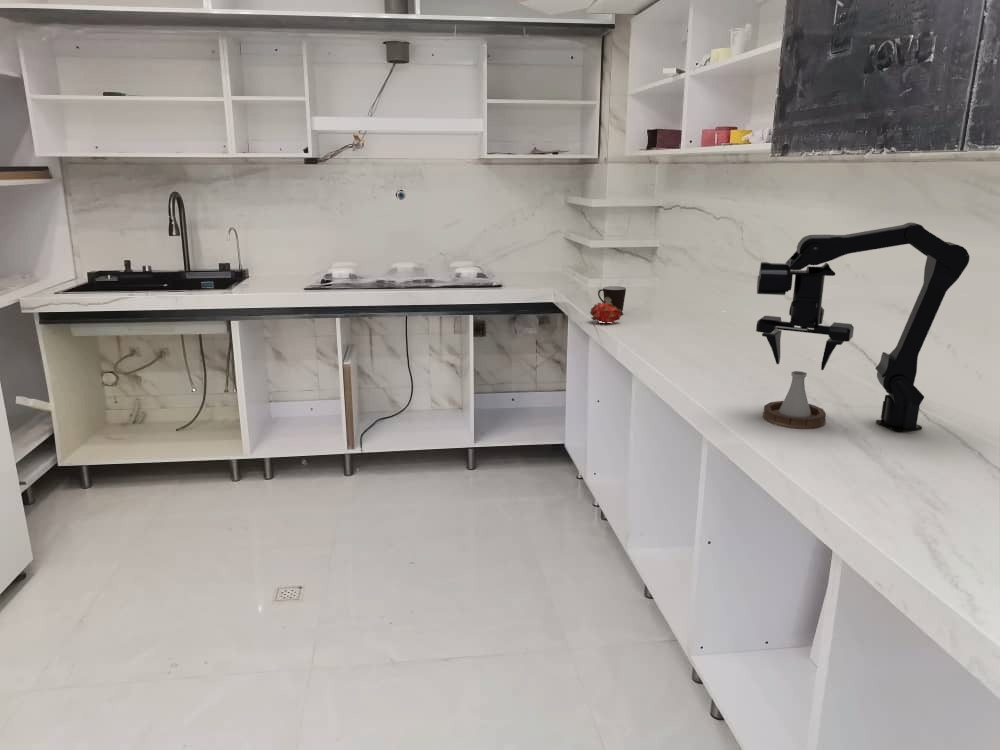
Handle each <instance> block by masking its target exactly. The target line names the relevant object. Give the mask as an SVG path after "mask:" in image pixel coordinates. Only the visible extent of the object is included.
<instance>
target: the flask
mask: <svg viewBox="0 0 1000 750" xmlns="http://www.w3.org/2000/svg"><path fill="white" fill-rule="evenodd" d="M806 377H807V372H805V371H798V370H794V371H791V383H790V387H789V389H788V392H787V393H786V395H785V398H784V399H783V400H782V401H783V403H782V405H781V407H780V409H779V411H778V414H781V415H786V416H790V417H803V418H805V417H811V411H810V408H809V404H810V403H809V401H808V396H807V392H806V387H805V385H806V384H805V380H806V379H805V378H806Z"/></svg>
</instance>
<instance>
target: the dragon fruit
mask: <svg viewBox="0 0 1000 750" xmlns="http://www.w3.org/2000/svg"><path fill="white" fill-rule="evenodd" d="M589 313H590V315H591V318H590V319H591V320H592V319H593V320H592V321H598V320H599V321H602V322H612V323H614V322H616V321H619V320H620V318H621V317H622V316H623V315H624V313H623V312H622V311H621V310H620V309H617V308H616V307H615V306H614V305H612V303H610V304H607V302H605V303H604V302H597V303H596V304H594V306H593V307H591V309H590V311H589Z"/></svg>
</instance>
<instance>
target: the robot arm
mask: <svg viewBox="0 0 1000 750" xmlns="http://www.w3.org/2000/svg"><path fill="white" fill-rule="evenodd" d="M905 245H910V246H912V247H913V248H915V249H916V250H917V251H919V252H920V253H921V254H923V255H924V256H926V260H925V263H924V264H925V265H924V268H923V269H924V272H923V284H922V286H921V289H920V291H919V294H918V296H917V298H916V301H915V303H914V305H913V307H912V310H911V312H910V314H909V317H908V319H907V321H906V323H905V326H904V327H903V330H902V333H901V336H900V338H899V340H898V342H897V345H896V347H895V348H894V349H893V350H892V351H891V352H890V353H887V352H884V351H883V352H882V353H881V356H880V361H879V363H878V365H876V366H875V370H876V371H877V372H876V378H877V381H878V382H879V384H880V385H881V386H882V388H883V389H884V390H885V392H886V394H885V395H884V400H883V402H882V406H881V407H882V408H881V415H880V419H876V420H875V423H876V424H878V425H881V426H883V427H885V428H888V429H890V430H892V431H894V432H898V433H901V432H908V431H909V432H910V431H916V430H922V429H923V426H921V425H920V424H918V419H919V412H920V406H921V404H922V402H923V400H924V399H925V396H924V395H923V394H922V392H921V391H920V390H919V389H918V388H917V387H916V386H915V385H914V384H915V381H916V376H917V372H918V371H917V370H918V357H919V354H920V352H921V350H922V347H923V345H924V342H925V341H926V338H927V336H928V334H929V332H930V329H931V327H932V325H933V323H934V320H935V318H936V316H937V313H938V311H939V309H940V306H941V305H942V302H943V300H944V297H946V296H945V295H946V293H947V292H948V290H950V288H951V287H952V286H953V285H954V284H955V283H956V282H957V281H958V280H959V278H960V277H961V275H962V274H963V273H964V271H965V269H966V268H967V267H968V265H969V262H970V257H971V256H970V254H969V252H968V250H967V249H966V248H965V247H964V246H962V245H960V244H956V243H953V242H951V241H946V240H943V239H942V238H941V237H938V236H937V235H935V234H933V233H932V232H930V231H928V230H927V229H926V228H925V227H924V226H923V225H922V224H919V223H916V222H907V223H904V224H900V225H894V226H889V227H883V228H878V229H877V228H876V229H871V230H865V231H860V232H853V233H848V234H808V235H805V236H804V237H802V238H801V239H800V240H799V241H798V243H797V246H796V251H795V252H794V253H793V254H792V255H791V256H790V257H789V258H788V259H787V261H785V263H781V262H780V263H775V262H774V263H773V262H767V261H761V262H760V266H759V271H758V275H757V279H756V280H757V281H756V282H757V284H756V294H757V295H775V296H785V295H786V293H789V291H791V290H792V287H793V294H792V301H791V303H790V307H789V312H788V315H789V316H790V321H785V320H783V321H782V317H781V316H774V315H773V316H772V315H764V316H763V317H761V318H760V319H759V320H757V322H756V329H755V332H757V333H761V336H762V337H765V338H766V340H767V342H768V344H769V347H770V348H771V351H772V353H773V354H772V355H773V357H774V360H775V364H776V365H779V364H780V362H781V338H782V332H783V331H788V332H790V331H791V332H797V333H809V334H818V335H826V336H828V337H829V338H828V339H827V340H826V341H825V347H824V351H823V356H822V360H821V367H820V371H824V370H825V368H826V367H827V364H828V362H829V360H830V358H831V355H832V354H833V351H834V350H835V349H836V347H837V346H842V345H843V344H844V342H850V341H851V339H853V337H854V329H855V327H854V325H853V324H852V323H843V322H835V321H834V322H833V323H832V324H831V325H822V324H823V319H824V316H825V309H824V308H823V307H822V303H823V292H824V286H825V285H824V284H825V277H828V276H829V277H833V276H836V272H835V271H834V270H833V269H832V268H831V267H830V266H831V265H830V264H829V263H828V262H830V261H834V260H836V259H839V258H840V257H843V256H846V255H849V254H853V253H861V252H867V251H873V250H880V249H886V248H891V247H897V246H905ZM821 264H822V266H817V265H821ZM804 268H806V269H804ZM803 269H804V270H803ZM793 276H794V282H793ZM793 283H794V284H793ZM793 285H794V286H793Z"/></svg>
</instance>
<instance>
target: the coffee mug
mask: <svg viewBox="0 0 1000 750" xmlns="http://www.w3.org/2000/svg"><path fill="white" fill-rule="evenodd" d="M626 291H627V287H625V286H619V285H618V286H617V285H614V286H613V285H610V286H609V285H608V286H603V287H602V288H601V289H599V290H598V291H597V295H598V298H599V300H600V301H601V303H603V302H604V303H605V302H607V304H610V303H612V305H614V306H615V307H616V308H617V309H620V310H621V311H624V305H625V304H624V303H625V299H626ZM601 292H603V299H602V297H601Z"/></svg>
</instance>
